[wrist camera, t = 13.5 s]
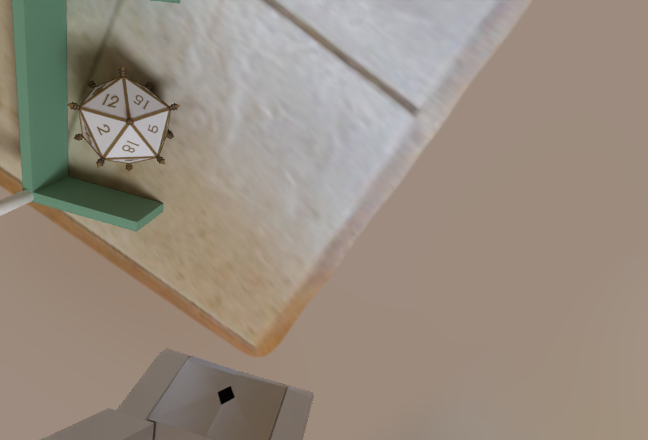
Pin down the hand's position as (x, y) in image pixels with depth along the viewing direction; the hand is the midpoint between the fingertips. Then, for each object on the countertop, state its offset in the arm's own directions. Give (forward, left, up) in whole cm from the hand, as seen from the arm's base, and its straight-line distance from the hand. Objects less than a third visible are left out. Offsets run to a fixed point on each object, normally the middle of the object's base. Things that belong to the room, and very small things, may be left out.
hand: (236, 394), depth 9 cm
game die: (+6, -20, -34) cm, 40 cm away
